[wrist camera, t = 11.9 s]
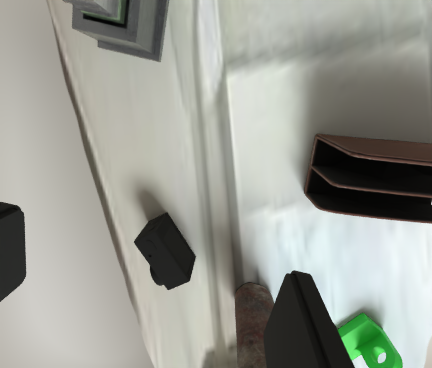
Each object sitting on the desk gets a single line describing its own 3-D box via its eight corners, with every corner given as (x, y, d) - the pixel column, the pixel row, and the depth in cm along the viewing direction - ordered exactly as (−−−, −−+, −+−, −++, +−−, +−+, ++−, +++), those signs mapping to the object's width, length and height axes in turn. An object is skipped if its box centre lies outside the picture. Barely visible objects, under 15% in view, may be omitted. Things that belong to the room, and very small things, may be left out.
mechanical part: (362, 311, 48) (386, 350, 40) (382, 328, 49) (409, 370, 41) (314, 343, 51) (329, 385, 43) (334, 359, 52) (351, 402, 44)
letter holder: (314, 133, 38) (358, 148, 25) (446, 144, 37) (566, 166, 24) (302, 193, 41) (335, 236, 28) (424, 204, 40) (519, 254, 27)
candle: (280, 289, 47) (311, 414, 28) (264, 316, 50) (283, 449, 31) (243, 276, 47) (249, 393, 28) (229, 304, 49) (226, 430, 30)
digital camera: (142, 223, 45) (126, 244, 38) (166, 211, 44) (154, 230, 37) (171, 267, 47) (161, 293, 41) (196, 256, 46) (189, 281, 40)
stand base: (106, -27, 33) (68, -66, 26) (170, -12, 33) (151, -46, 26) (101, 48, 36) (66, 33, 29) (160, 62, 36) (141, 51, 29)
